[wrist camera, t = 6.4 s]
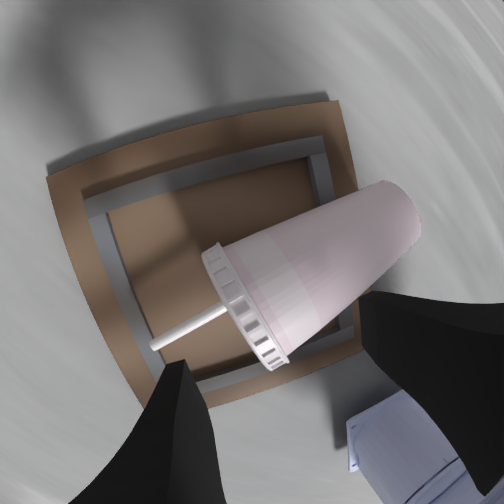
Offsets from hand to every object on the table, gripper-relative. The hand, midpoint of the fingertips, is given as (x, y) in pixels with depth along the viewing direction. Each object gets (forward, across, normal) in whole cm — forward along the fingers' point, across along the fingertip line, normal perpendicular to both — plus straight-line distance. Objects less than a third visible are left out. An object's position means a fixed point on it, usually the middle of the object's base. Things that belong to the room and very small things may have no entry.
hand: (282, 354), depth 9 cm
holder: (+9, 0, 0) cm, 9 cm away
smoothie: (+5, -9, -2) cm, 10 cm away
